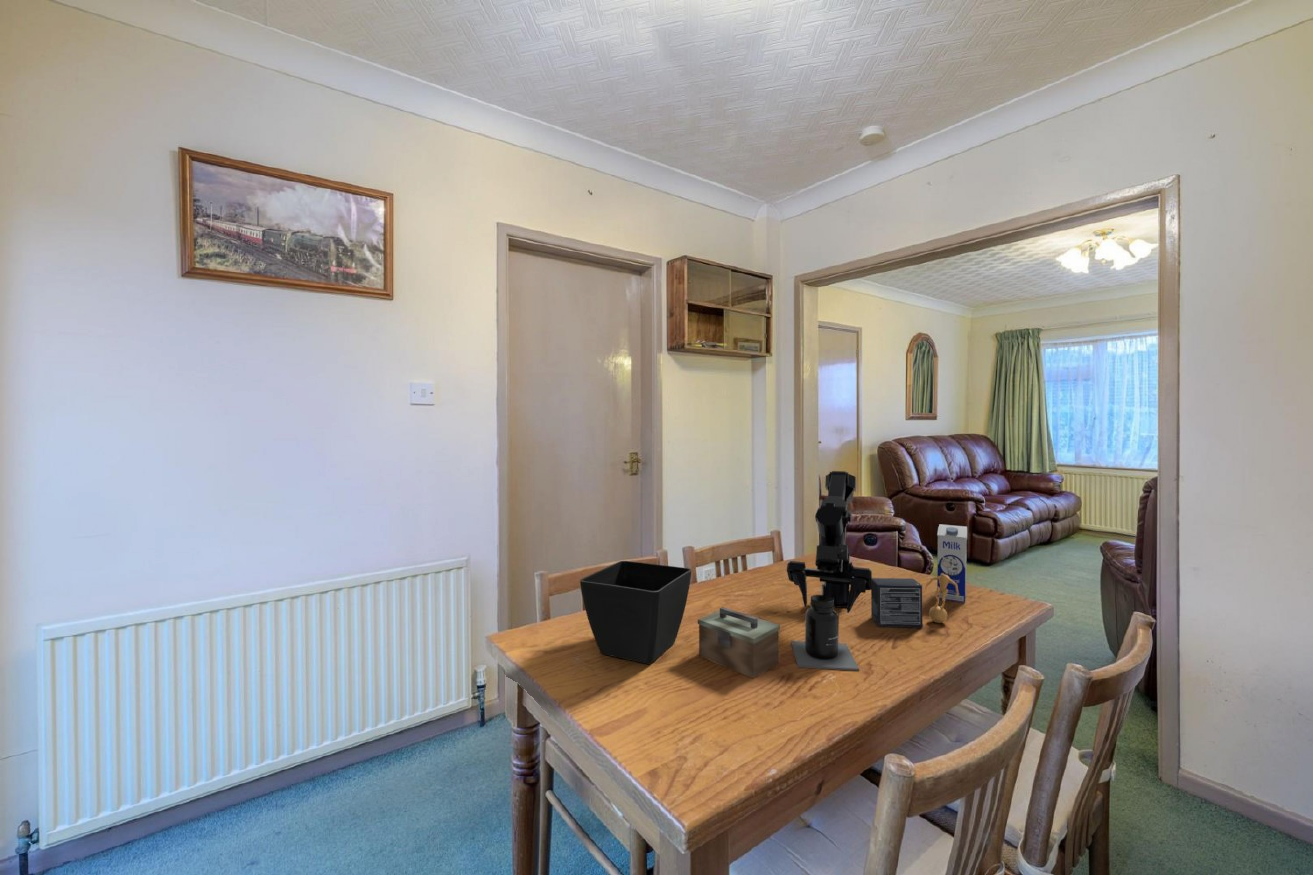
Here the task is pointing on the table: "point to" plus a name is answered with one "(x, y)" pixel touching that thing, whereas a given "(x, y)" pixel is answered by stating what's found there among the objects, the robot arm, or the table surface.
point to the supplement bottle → (821, 628)
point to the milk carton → (952, 559)
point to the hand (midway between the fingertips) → (826, 609)
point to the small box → (896, 602)
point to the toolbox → (739, 641)
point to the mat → (840, 662)
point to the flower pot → (636, 608)
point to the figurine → (937, 611)
